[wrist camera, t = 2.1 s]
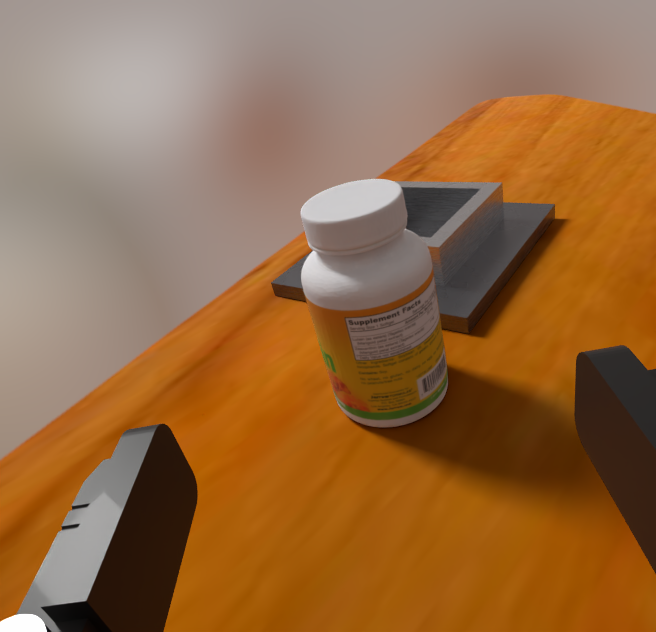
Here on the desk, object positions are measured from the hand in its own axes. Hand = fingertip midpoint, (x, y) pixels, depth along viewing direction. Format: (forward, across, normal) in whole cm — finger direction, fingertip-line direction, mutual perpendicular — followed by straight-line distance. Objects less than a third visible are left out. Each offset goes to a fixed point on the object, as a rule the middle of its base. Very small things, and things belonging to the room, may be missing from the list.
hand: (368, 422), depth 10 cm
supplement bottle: (+12, 0, +9) cm, 15 cm away
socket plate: (+25, -3, +9) cm, 26 cm away
